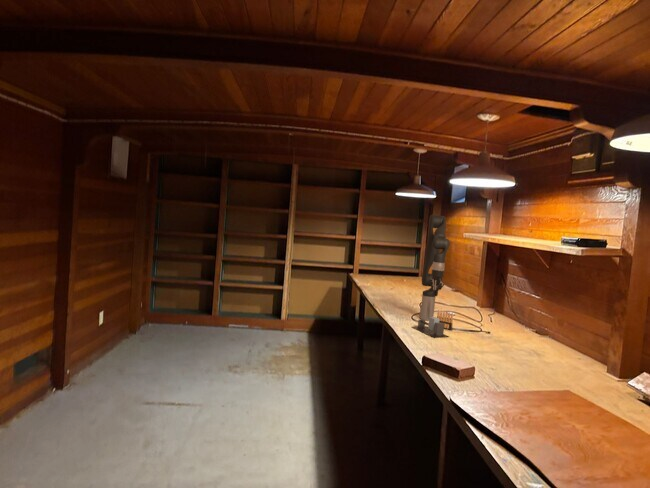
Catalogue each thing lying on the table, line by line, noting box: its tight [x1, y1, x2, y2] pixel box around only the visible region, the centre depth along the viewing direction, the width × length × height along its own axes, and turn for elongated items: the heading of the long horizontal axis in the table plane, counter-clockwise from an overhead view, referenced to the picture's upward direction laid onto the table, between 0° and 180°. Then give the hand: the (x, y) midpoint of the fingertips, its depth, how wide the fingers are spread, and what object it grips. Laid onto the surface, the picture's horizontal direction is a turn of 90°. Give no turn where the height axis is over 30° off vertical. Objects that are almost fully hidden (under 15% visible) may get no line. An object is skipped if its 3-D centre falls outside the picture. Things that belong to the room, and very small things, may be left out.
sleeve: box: [427, 316, 440, 331], centre depth 252 cm, size 5×4×8 cm
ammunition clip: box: [436, 309, 454, 332], centre depth 266 cm, size 11×2×12 cm, turn 58°
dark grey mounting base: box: [411, 319, 450, 339], centre depth 255 cm, size 23×12×8 cm, turn 23°
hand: (435, 295), depth 258 cm, fingers closed
